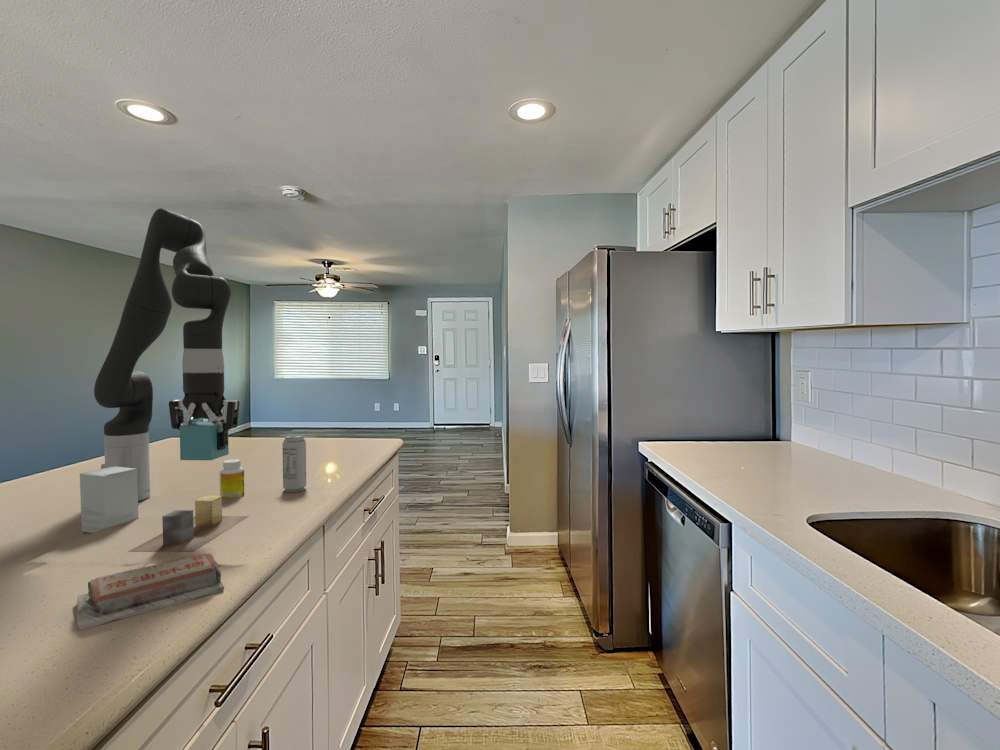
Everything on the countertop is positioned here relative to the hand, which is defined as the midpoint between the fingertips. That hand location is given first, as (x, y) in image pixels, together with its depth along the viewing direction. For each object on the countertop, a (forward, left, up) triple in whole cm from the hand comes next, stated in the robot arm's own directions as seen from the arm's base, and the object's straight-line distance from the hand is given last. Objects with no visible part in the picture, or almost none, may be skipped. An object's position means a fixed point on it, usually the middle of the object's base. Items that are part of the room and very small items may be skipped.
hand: (205, 448), depth 105 cm
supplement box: (-22, +1, -18) cm, 28 cm away
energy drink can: (+5, +32, -18) cm, 37 cm away
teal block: (0, 0, -2) cm, 2 cm away
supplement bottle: (-7, +22, -18) cm, 29 cm away
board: (0, -5, -18) cm, 18 cm away
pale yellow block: (0, 0, -16) cm, 16 cm away
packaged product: (+8, -28, -18) cm, 35 cm away
